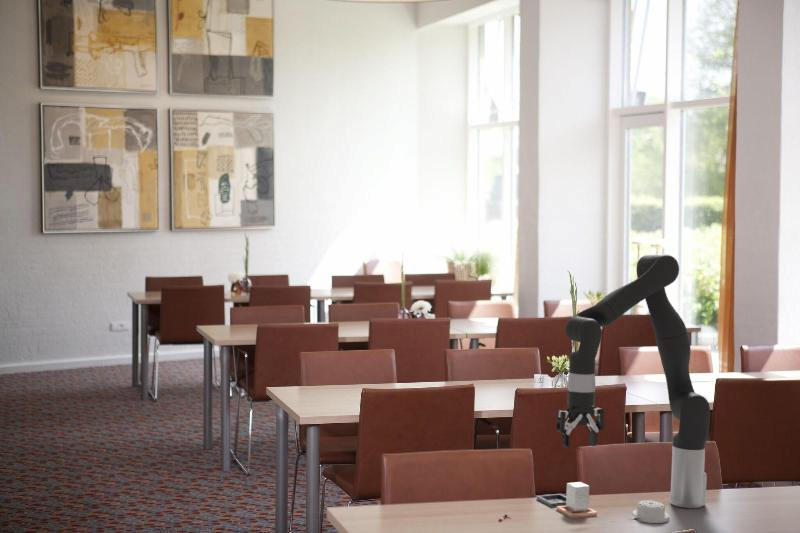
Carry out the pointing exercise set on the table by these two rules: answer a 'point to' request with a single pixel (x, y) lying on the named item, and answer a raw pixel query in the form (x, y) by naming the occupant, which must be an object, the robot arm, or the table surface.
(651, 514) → the mechanical component
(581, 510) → the block
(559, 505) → the double frame tray
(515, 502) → the table surface
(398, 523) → the table surface
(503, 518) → the pencil
